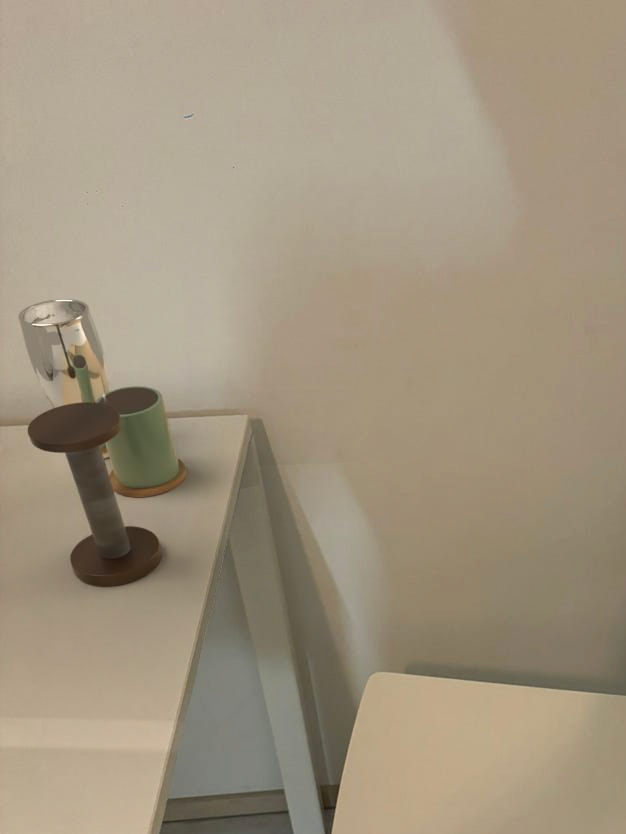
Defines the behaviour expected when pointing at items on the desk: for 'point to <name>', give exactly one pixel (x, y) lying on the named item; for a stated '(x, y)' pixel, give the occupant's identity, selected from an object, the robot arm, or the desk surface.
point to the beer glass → (65, 352)
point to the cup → (141, 438)
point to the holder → (96, 494)
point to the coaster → (153, 490)
